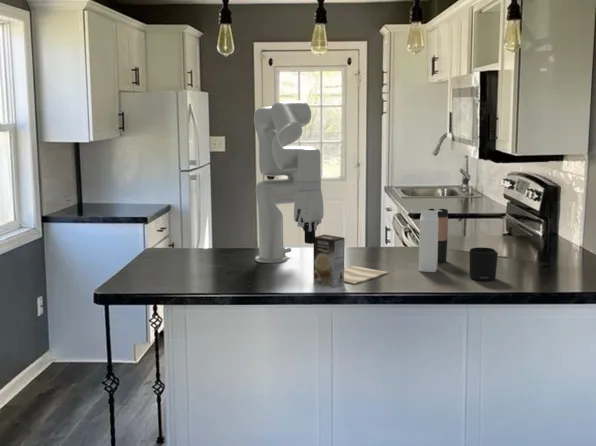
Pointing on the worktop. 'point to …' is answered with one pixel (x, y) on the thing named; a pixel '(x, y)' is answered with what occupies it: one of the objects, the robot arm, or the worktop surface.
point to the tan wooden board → (360, 274)
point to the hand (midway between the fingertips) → (309, 243)
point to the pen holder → (483, 264)
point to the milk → (428, 241)
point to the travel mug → (442, 234)
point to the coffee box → (329, 260)
